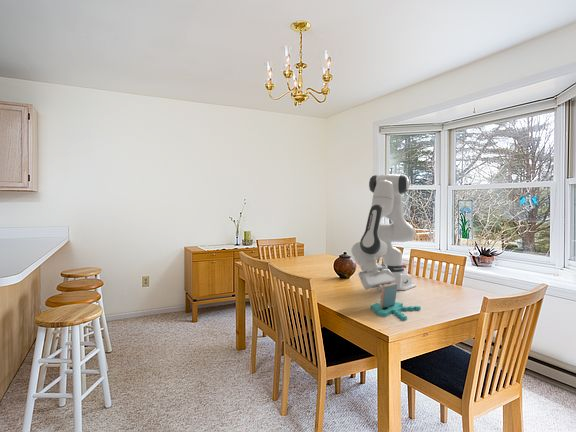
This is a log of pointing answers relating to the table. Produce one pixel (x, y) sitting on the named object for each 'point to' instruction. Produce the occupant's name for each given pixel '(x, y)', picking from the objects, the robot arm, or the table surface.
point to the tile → (388, 295)
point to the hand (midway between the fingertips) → (386, 293)
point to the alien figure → (393, 310)
